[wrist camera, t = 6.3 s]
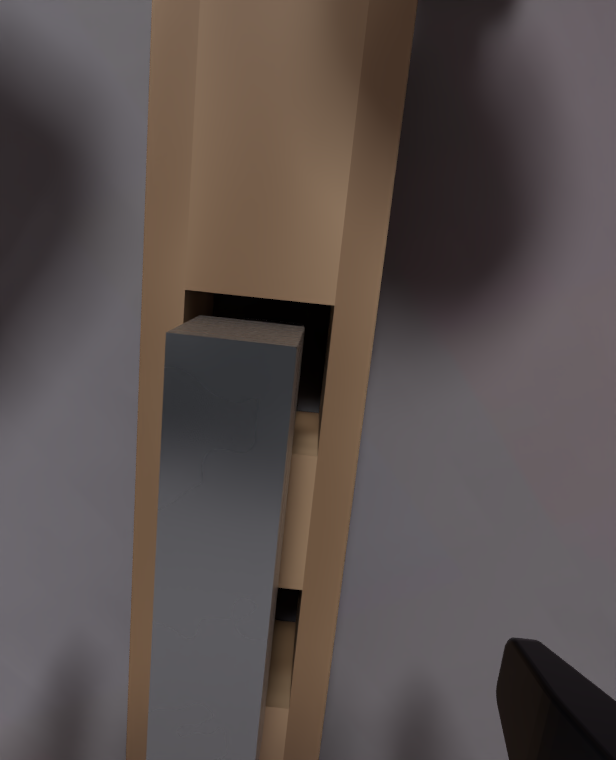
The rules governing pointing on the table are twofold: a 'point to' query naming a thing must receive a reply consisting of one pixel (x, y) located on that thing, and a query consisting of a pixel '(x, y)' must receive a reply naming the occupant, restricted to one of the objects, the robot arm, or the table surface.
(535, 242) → the table surface
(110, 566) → the table surface
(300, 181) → the rail
